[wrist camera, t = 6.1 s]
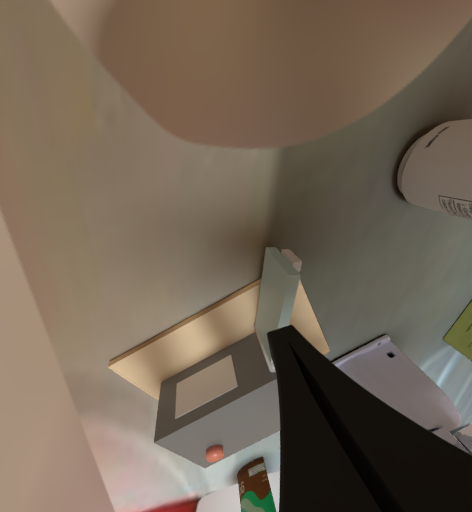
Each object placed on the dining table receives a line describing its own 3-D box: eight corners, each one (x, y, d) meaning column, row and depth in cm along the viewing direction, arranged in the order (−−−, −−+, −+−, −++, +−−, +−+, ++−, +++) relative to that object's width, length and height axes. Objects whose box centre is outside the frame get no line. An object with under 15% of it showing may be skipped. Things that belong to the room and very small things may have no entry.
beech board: (290, 262, 19) (293, 265, 18) (327, 347, 25) (330, 351, 25) (109, 361, 19) (107, 367, 19) (192, 417, 26) (192, 423, 26)
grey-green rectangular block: (267, 328, 20) (286, 370, 17) (253, 330, 20) (268, 373, 16) (283, 243, 16) (312, 271, 13) (265, 243, 16) (289, 273, 12)
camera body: (276, 319, 21) (304, 372, 16) (301, 361, 24) (329, 414, 20) (160, 381, 21) (152, 451, 16) (202, 412, 25) (205, 476, 20)
